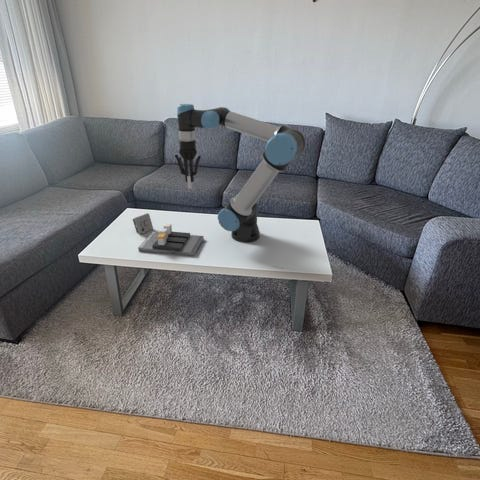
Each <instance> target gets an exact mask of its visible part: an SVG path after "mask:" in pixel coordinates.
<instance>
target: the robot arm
mask: <svg viewBox="0 0 480 480" xmlns="http://www.w3.org/2000/svg"><path fill="white" fill-rule="evenodd" d="M176 110H177V111H176V112H177V114H176V116H177V123H178V125H177V126H178V138H179V150H178V152H177V153H176V154H174V158H175V159H176V161H177V164H178V166H179V170H180V171H179V172H180V173H181V175H183V176H184V177H185V178H184V179H185V183H187V190H192V189H193V183H194V181H195V177H194V176H196V175H197V174H198V171H199V165H200V161H201V158H202V157H203V155H202V154H199V153H198V151H197V145H196V128H197V129H198V128H199V129H204V130H216V129H217V128H218V126H220V127H224V128H226V129H229V130H232V131H235V132H238V133H241V134H243V135H246V136H250V137H253V138H256V139H258V140H261V141H264V142H266V145H265V147H264V148H265V149H264V151H263V153H262V154H261V156H262V160H261V162H260V163H259V164H258V166H257V168H256V169H255V170H254V171H253V173H252V174H251V176H250V177H249V179H248V180H247V181H246V183H245V185H244V186H243V187H242V188H241V190H240V192H239V193H237V194H236V195H235V196H232V197H231V198H230V200H229V201H228V203H226V206H225V207H223V208H222V209H220V211H219V212H218V214H217V220H218V224H219V226H220V227H221V228H223V230H225V231H227V232H231V238H232V239H233V240H234V241H236V242H240V243H250V242H251V243H253V242H255V241H257V240H259V238H260V235H261V233H260V229H259V225H258V209H259V208H258V207H259V205H258V204H259V203H258V202H259V198H260V197H261V196H262V195H263V193H264V192H265V191H266V189H268V187H269V186H270V184H271V183H272V182H273V180H274V179H276V177H277V176H278V174H279V173H281V172H282V173H283V172H285V171H286V169H287V168H288V167H289V166H290V164H291V163H292V162H293V161H294V159H296V158H297V157H299V156H301V155H302V154H303V152H304V151H305V149H306V145H307V140H306V137H305V135H304V134H303V132H302V131H300V130H299V129H296V128H292V127H289V126H286V125H283V124H282V125H280V126H277V125H274V124H272V123H268V122H265V121H263V120H259V119H256V118H252V117H250V116H247V115H243V114H240V113H237V112H234V111H231V110H230V109H229V108H228V107H224V106H223V107H222V106H219V107H216V108H215V107H214V108H211V109H204V110H203V109H195V106H194V104H191V103H180V104H178V105H177V109H176ZM195 158H196V160H195V164H194V159H195ZM182 159H183V161H182ZM183 163H184V164H183Z"/></svg>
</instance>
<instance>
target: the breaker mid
mask: <svg viewBox="0 0 480 480" xmlns="http://www.w3.org/2000/svg"><path fill="white" fill-rule="evenodd" d="M158 232H159V233H160V234H166V239H167V238H168V230H167V229H164V227H163V228H160V229H159V231H158Z"/></svg>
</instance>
